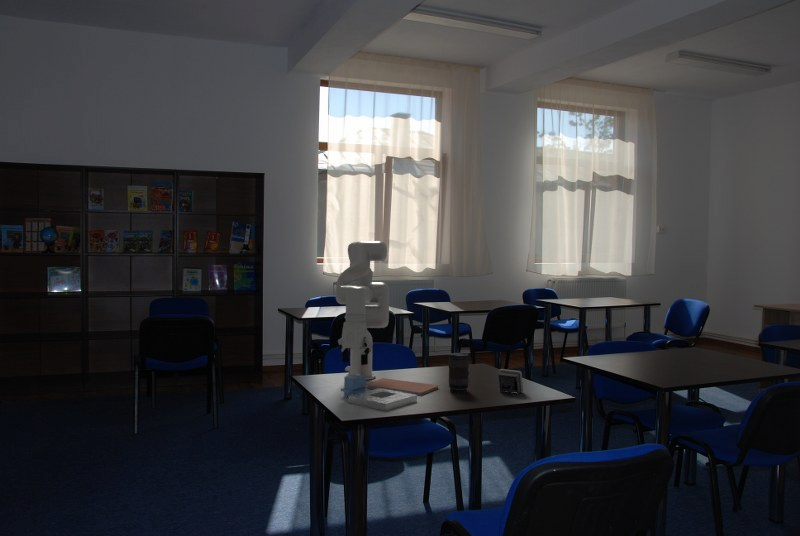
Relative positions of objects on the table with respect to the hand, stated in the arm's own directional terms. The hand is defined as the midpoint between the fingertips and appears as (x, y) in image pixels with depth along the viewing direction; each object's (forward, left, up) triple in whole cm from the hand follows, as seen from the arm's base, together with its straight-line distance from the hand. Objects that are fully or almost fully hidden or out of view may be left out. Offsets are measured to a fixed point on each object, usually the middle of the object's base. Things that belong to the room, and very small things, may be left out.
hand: (354, 363), depth 246 cm
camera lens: (+26, +34, -13) cm, 44 cm away
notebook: (+5, +22, -13) cm, 27 cm away
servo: (0, +1, -13) cm, 13 cm away
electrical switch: (+43, +46, -13) cm, 64 cm away
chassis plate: (+15, 0, -13) cm, 19 cm away
